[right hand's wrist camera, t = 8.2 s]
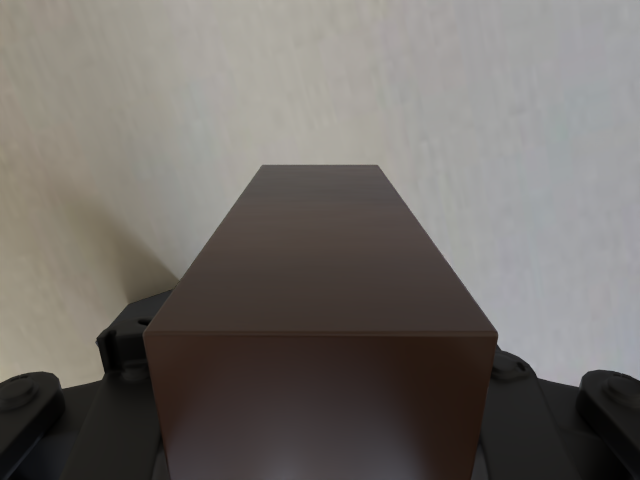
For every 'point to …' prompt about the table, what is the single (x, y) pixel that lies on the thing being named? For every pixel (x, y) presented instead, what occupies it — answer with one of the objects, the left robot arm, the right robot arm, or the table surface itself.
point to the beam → (320, 340)
